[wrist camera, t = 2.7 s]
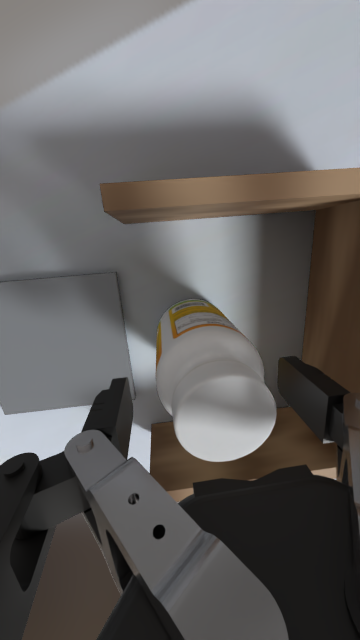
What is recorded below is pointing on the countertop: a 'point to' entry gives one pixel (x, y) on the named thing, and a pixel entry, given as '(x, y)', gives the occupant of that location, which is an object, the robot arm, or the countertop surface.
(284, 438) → the open box
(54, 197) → the countertop surface
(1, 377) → the grey mat
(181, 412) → the supplement bottle
